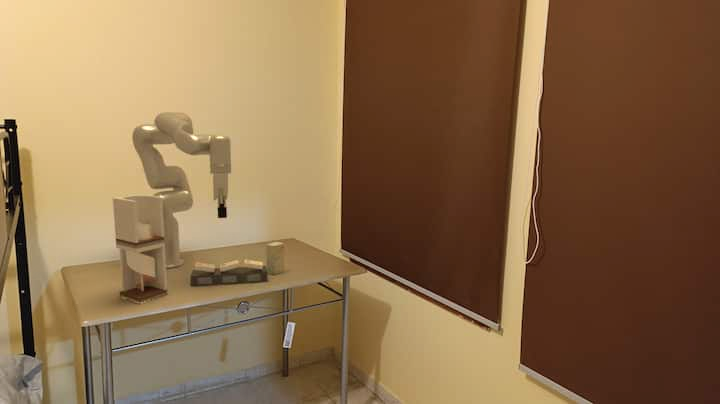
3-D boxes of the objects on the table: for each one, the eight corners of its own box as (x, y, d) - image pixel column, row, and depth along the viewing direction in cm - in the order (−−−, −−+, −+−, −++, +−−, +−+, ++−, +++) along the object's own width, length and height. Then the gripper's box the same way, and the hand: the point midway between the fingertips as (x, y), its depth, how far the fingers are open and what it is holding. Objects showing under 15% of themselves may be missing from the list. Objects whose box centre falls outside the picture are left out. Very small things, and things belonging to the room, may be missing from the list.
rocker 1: (194, 269, 178) (195, 265, 178) (195, 266, 182) (196, 261, 182) (213, 272, 180) (214, 267, 180) (214, 268, 184) (215, 264, 184)
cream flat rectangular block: (220, 271, 181) (219, 267, 180) (221, 268, 185) (219, 264, 184) (239, 267, 182) (238, 262, 182) (239, 263, 186) (238, 259, 186)
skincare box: (274, 275, 191) (274, 246, 189) (266, 273, 194) (265, 244, 192) (284, 271, 197) (284, 242, 195) (276, 269, 199) (276, 241, 197)
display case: (119, 297, 165) (112, 198, 159) (147, 288, 174) (141, 194, 168) (139, 304, 159) (133, 201, 154) (167, 294, 168) (162, 197, 162)
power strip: (190, 286, 177) (190, 275, 176) (192, 279, 185) (192, 269, 184) (267, 281, 183) (267, 271, 183) (266, 275, 191) (266, 264, 191)
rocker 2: (244, 266, 182) (244, 262, 182) (243, 263, 187) (244, 259, 186) (262, 269, 184) (263, 265, 184) (261, 266, 188) (262, 261, 188)
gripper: (211, 167, 183) (213, 214, 186) (208, 171, 169) (210, 222, 172) (231, 167, 185) (232, 213, 188) (230, 171, 170) (232, 221, 173)
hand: (222, 217), depth 180 cm, fingers closed
